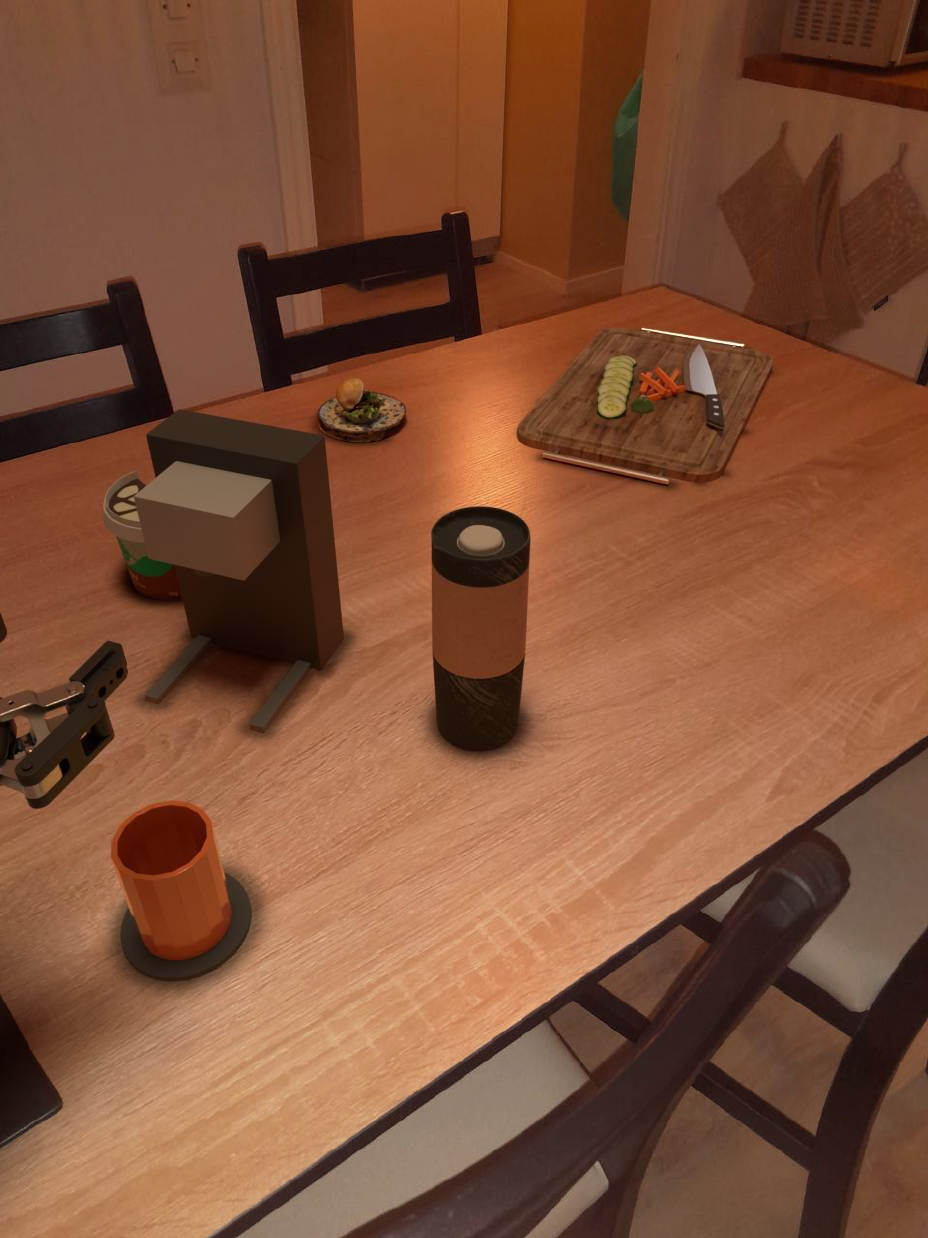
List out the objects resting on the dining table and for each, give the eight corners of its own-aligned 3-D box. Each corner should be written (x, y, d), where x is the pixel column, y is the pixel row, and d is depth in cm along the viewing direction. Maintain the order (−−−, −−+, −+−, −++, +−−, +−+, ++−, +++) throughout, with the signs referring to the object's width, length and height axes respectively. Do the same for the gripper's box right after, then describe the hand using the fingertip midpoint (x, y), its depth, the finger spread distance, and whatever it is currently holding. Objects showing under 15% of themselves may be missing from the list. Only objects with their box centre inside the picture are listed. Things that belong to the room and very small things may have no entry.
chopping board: (608, 327, 155) (610, 308, 153) (778, 355, 147) (782, 336, 145) (502, 451, 123) (502, 429, 121) (710, 497, 115) (715, 474, 113)
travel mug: (537, 715, 86) (551, 524, 73) (490, 768, 81) (496, 573, 68) (465, 682, 89) (467, 494, 76) (416, 731, 84) (409, 538, 72)
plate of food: (395, 447, 124) (392, 393, 119) (306, 439, 125) (300, 385, 121) (415, 406, 133) (414, 354, 128) (332, 399, 135) (328, 347, 130)
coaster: (94, 945, 67) (92, 940, 67) (183, 854, 74) (182, 849, 73) (192, 1005, 64) (190, 1000, 64) (277, 904, 70) (276, 899, 70)
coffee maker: (136, 699, 87) (76, 486, 73) (218, 609, 97) (178, 408, 84) (274, 737, 83) (238, 521, 70) (344, 639, 94) (325, 435, 80)
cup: (119, 934, 67) (89, 853, 62) (183, 869, 72) (160, 787, 66) (188, 976, 65) (163, 896, 59) (251, 906, 69) (232, 824, 64)
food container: (100, 570, 102) (77, 488, 96) (153, 548, 106) (134, 468, 99) (155, 625, 95) (134, 540, 89) (211, 599, 99) (194, 516, 92)
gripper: (-74, 838, 41) (149, 612, 53) (-321, 751, 44) (-61, 559, 56) (-19, 939, 45) (174, 711, 57) (-246, 853, 49) (-21, 656, 61)
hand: (57, 636), depth 57 cm, fingers open, 8 cm apart
